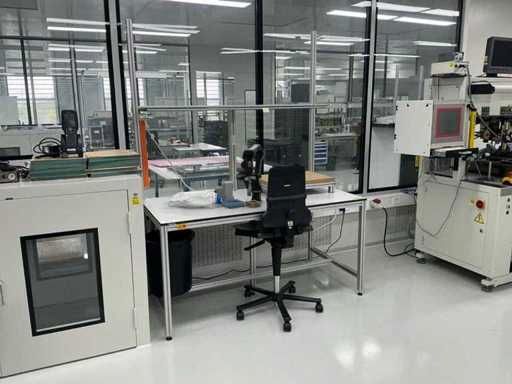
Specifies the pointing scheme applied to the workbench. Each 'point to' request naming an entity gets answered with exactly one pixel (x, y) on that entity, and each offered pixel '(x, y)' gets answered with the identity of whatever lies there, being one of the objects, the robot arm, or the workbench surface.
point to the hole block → (252, 203)
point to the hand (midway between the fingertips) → (249, 188)
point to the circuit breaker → (225, 190)
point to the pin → (249, 188)
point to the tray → (233, 203)
